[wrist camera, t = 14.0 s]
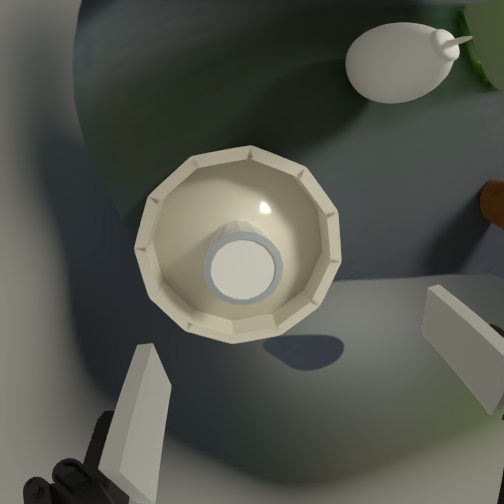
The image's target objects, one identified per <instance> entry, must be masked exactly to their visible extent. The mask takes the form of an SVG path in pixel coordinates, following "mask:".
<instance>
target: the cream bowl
mask: <svg viewBox="0 0 504 504" xmlns="http://www.w3.org/2000/svg"><path fill="white" fill-rule="evenodd" d="M233 220H247V221H249V222H251V223H253V224H255V225H257V226H258V227H259V229H260V230H261V231H262V232H263V233H264V234H265V235H266V236H267V237H268V238H269V239H270V240H271V242H272V243H273V244H274V245H275V247H276V248H277V249H278V250H279V252H280V255H281V259H282V262H283V271H282V277H281V281H280V282H279V284H278V286H277V287H276V289H275V290H274V292H273V293H272V294H270V295H269V296H268V297H266V298H265V299H263V300H262V301H260V302H256V303H253V304H250V305H235V304H230V303H228V302H226V301H224V300H221V299H219V298H218V297H217V296H216V295H215V294H214V293H213V292H212V291H211V290H210V289H209V288H208V285H207V282H206V280H205V277H204V260H205V257H206V255H207V252H208V250H209V248H210V245H211V243H212V241H213V238H214V237H215V235H216V233H217V231H218V229H219V228H220V227H222V226H223V225H224V224H225V223H227V222H230V221H233ZM134 250H135V254H136V257H137V261H138V264H139V267H140V271H141V274H142V277H143V280H144V284H145V287H146V290H147V293H148V295H149V298H150V299H151V300H152V301H153V302H154V303H155V304H156V305H158V306H159V307H160V308H161V309H162V310H163V311H164V312H165V313H166V314H167V315H168V316H169V317H170V318H171V319H172V320H174V321H175V322H176V323H177V324H178V325H179V326H180V327H181V328H182V329H184V330H185V331H187V332H190V333H194V334H197V335H201V336H204V337H208V338H212V339H216V340H219V341H223V342H227V343H230V344H232V343H233V344H235V343H241V342H247V341H252V340H258V339H263V338H268V337H273V336H278V335H281V334H283V333H284V332H285V331H287V330H288V329H290V328H291V327H292V326H294V325H295V324H296V323H298V322H299V321H300V320H302V319H303V318H305V317H306V316H307V315H308V314H310V313H311V312H313V311H314V310H315V309H316V308H318V307H319V306H320V304H321V303H322V301H323V299H324V297H325V294H326V293H327V291H328V289H329V286H330V285H331V282H332V280H333V278H334V276H335V274H336V272H337V270H338V268H339V266H340V264H341V247H340V231H339V218H338V211H337V209H336V208H335V206H334V205H333V203H332V202H331V201H330V199H329V198H328V196H327V195H326V194H325V192H324V191H323V189H322V188H321V187H320V185H319V184H318V183H317V181H316V180H315V178H314V177H313V176H312V174H311V173H310V172H309V170H308V169H307V168H306V167H305V166H302V165H300V164H298V163H295V162H293V161H290V160H288V159H285V158H283V157H280V156H278V155H275V154H273V153H270V152H268V151H265V150H262V149H260V148H257V147H255V146H252V145H250V146H244V147H238V148H232V149H226V150H221V151H215V152H210V153H205V154H200V155H195V156H191V157H190V158H189V159H188V160H187V161H185V162H184V163H183V164H182V165H181V166H180V167H179V168H178V169H176V170H175V171H174V172H173V173H172V174H171V175H170V176H169V177H168V178H167V179H165V180H164V181H163V182H162V183H161V184H160V185H159V186H158V187H157V188H156V189H155V190H154V191H153V192H152V193H151V194H150V195H149V196H148V198H147V201H146V205H145V208H144V212H143V216H142V219H141V223H140V227H139V231H138V235H137V239H136V243H135V247H134Z"/></svg>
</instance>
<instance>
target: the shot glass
mask: <svg viewBox="0 0 504 504" xmlns="http://www.w3.org/2000/svg"><path fill="white" fill-rule="evenodd" d="M282 271H283V262H282V259H281V255H280V252H279V250H278V249H277V248H276V247H275V245H274V244H273V243H272V242H271V240H270V239H269V238H268V237H267V236H266V235H265V234H264V233H263V232H262V231H261V230H260V229H259V227H258V226H257V225H255V224H253V223H251V222H249V221H247V220H233V221H230V222H227V223H225V224H224V225H223V226H222V227H220V228H219V229H218V231H217V233H216V235H215V237H214V238H213V241H212V243H211V245H210V248H209V250H208V252H207V255H206V257H205V260H204V277H205V280H206V282H207V285H208V288H209V289H210V290H211V291H212V292H213V293H214V294H215V295H216V296H217V297H218V298H219V299H221V300H224V301H226V302H228V303H230V304H235V305H250V304H253V303H256V302H260V301H262V300H263V299H265V298H266V297H268V296H269V295H270V294H272V293H273V292H274V290H275V289H276V287H277V286H278V284H279V282H280V281H281V277H282Z"/></svg>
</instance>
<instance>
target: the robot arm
mask: <svg viewBox="0 0 504 504" xmlns="http://www.w3.org/2000/svg"><path fill="white" fill-rule="evenodd" d="M421 333H422V334H423V336H424V337H425V338H426V339H427V340H428V341H429V342H430V343H431V345H432V346H433V347H434V348H435V349H436V350H437V351H438V352H439V354H440V355H441V356H442V357H443V358H444V359H445V361H446V362H447V363H448V364H449V365H450V366H451V368H452V369H453V370H454V371H455V372H456V374H457V375H458V376H459V377H460V378H461V380H463V382H464V383H465V384H466V386H467V387H468V388H469V389H470V390H471V392H472V393H473V394H474V395H475V397H476V398H477V399H478V400H479V401H480V403H481V404H482V405H483V407H484V408H485V409H486V411H487V412H488V413H489V414H490V416H491V415H493V414H494V413H496V412H497V411H499V410H500V409H502V408H503V406H504V331H503V330H502V329H500V328H499V327H497V326H495V325H492V324H490V325H488V324H487V323H486V322H485V321H483V320H482V319H481V318H480V317H479V316H478V315H476V314H475V313H474V312H473V311H472V310H470V309H469V308H468V307H467V306H466V305H464V304H463V303H462V302H461V301H459V300H458V299H457V298H456V297H454V296H453V295H452V294H450V293H449V292H448V291H447V290H445V289H444V288H443V287H442V286H441V285H439V284H438V285H435V286H432V287H428V288H427V296H426V304H425V311H424V317H423V323H422V329H421ZM170 392H171V384H170V382H169V380H168V377H167V375H166V373H165V371H164V368H163V366H162V364H161V361H160V359H159V357H158V355H157V352H156V350H155V347H154V345H153V343H151V344H142V345H137V348H136V351H135V354H134V356H133V359H132V362H131V365H130V368H129V371H128V373H127V376H126V379H125V382H124V385H123V388H122V391H121V394H120V397H119V400H118V403H117V406H116V409H115V411H104V413H103V414H102V415H101V416H100V418H99V419H98V420H97V423H96V426H95V429H94V432H93V434H92V438H91V439H92V440H91V441H90V444H89V447H88V450H87V453H86V456H85V460H84V463H83V464H82V463H81V462H80V461H78V460H76V459H72V458H67V459H64V460H61V461H60V462H59V463H57V464H56V466H55V467H54V469H53V472H52V479H53V481H54V482H55V483H52V484H49V483H48V482H47V481H46V480H45V479H43V478H41V477H33V478H31V479H29V480H28V481H27V482H26V483H25V486H24V489H23V498H24V504H128V503H129V497H130V498H131V499H132V500H133V501H135V502H136V503H143V504H155V503H156V493H157V484H158V476H159V467H160V459H161V452H162V444H163V437H164V430H165V424H166V417H167V411H168V404H169V398H170ZM502 420H504V415H503V417H502ZM497 504H504V470H503V477H502V483H501V488H500V493H499V497H498V502H497Z"/></svg>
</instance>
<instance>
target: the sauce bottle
mask: <svg viewBox="0 0 504 504" xmlns="http://www.w3.org/2000/svg"><path fill="white" fill-rule="evenodd" d="M470 39H472V36H464V37H460V38H456V39H455V38H454V37H453V36H452V34H450V33H449V32H448V31H446V30H442V29H437V30H436V29H434V28H432V27H429V26H426V25H422V24H417V23H405V22H401V23H391V24H385V25H381V26H378V27H376V28H373V29H371V30H368V31H367V32H365V33H364V34H362V35H361V36H360V37H358V38H357V39H356V40H355V41H354V42H353V44H352V45H351V46H350V48H349V50H348V53H347V56H346V64H345V66H346V72H347V75H348V78H349V80H350V82H351V84H352V86H353V87H354V88H355V89H356V90H357V92H359V93H360V94H361V95H362V96H364V97H366V98H368V99H370V100H373V101H376V102H380V103H401V102H407V101H410V100H413V99H416V98H419V97H421V96H423V95H425V94H427V93H428V92H430V91H431V90H433V89H434V88H435V87H437V86H438V85H439V84H440V83H441V82H442V81H443V80H444V78H445V77H446V76H447V75H448V73H449V71H450V69H451V67H452V65H453V61H454V60H456V59H457V58H458V57H459V46H458V44H460V43H463V42H466V41H468V40H470Z"/></svg>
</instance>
